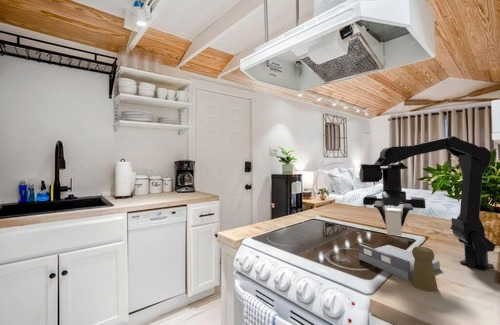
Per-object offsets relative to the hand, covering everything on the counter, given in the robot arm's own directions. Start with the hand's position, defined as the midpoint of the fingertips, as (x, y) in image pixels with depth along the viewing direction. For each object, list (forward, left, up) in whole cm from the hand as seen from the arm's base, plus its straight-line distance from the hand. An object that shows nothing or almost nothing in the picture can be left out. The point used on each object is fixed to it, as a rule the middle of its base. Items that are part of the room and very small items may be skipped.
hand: (393, 225), depth 85 cm
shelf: (+1, +1, -13) cm, 13 cm away
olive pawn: (+8, +14, -13) cm, 21 cm away
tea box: (0, 0, -2) cm, 3 cm away
